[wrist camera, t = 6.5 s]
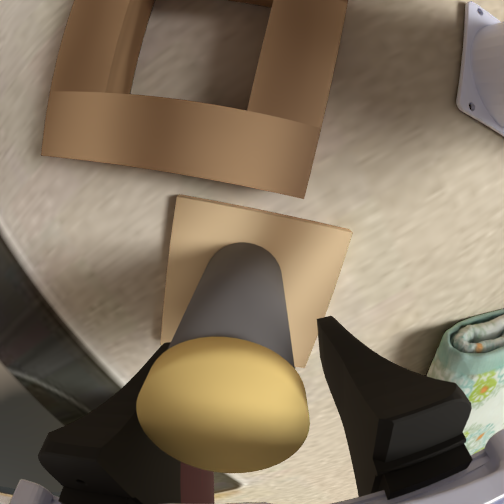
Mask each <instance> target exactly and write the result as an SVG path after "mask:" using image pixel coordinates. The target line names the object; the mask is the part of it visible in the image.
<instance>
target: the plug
mask: <svg viewBox="0 0 504 504" xmlns="http://www.w3.org/2000/svg"><path fill="white" fill-rule="evenodd" d="M136 411H137V416H138V420H139V422H140V425H141V427H142V429H143V430H144V432H145V433H146V435H147V436H148V437H149V439H150V440H151V441H152V442H153V443H154V444H155V445H156V446H157V447H159V448H160V449H161V450H162V451H164V452H165V453H167V454H168V455H170V456H171V457H173V458H175V459H177V460H179V461H181V462H183V463H185V464H188V465H190V466H193V467H196V468H200V469H203V470H208V471H213V472H221V473H246V472H253V471H258V470H262V469H266V468H269V467H272V466H274V465H277V464H279V463H281V462H283V461H285V460H286V459H288V458H289V457H290V456H292V455H293V454H294V453H295V452H296V451H297V450H298V449H299V448H300V447H301V446H302V445H303V443H304V441H305V439H306V438H307V435H308V432H309V426H310V421H309V412H308V406H307V399H306V392H305V388H304V385H303V382H302V380H301V378H300V376H299V374H298V373H297V371H296V370H295V366H294V358H293V351H292V343H291V336H290V329H289V321H288V314H287V307H286V300H285V293H284V286H283V279H282V272H281V269H280V266H279V264H278V262H277V260H276V259H275V257H274V256H273V255H272V254H271V253H270V252H269V251H267V250H266V249H264V248H263V247H261V246H258V245H256V244H252V243H246V242H239V243H233V244H230V245H227V246H225V247H223V248H221V249H220V250H218V251H217V252H216V253H215V254H214V255H213V256H212V258H211V259H210V261H209V262H208V264H207V267H206V269H205V271H204V273H203V275H202V277H201V279H200V281H199V283H198V285H197V287H196V290H195V292H194V294H193V296H192V298H191V300H190V302H189V304H188V306H187V309H186V311H185V313H184V315H183V317H182V319H181V321H180V324H179V326H178V328H177V330H176V332H175V334H174V337H173V339H172V341H171V343H170V345H169V348H168V350H167V351H165V352H164V353H163V354H162V355H161V356H160V357H159V358H157V360H156V361H155V362H154V364H153V365H152V367H151V369H150V371H149V373H148V376H147V378H146V380H145V382H144V384H143V386H142V388H141V390H140V393H139V395H138V398H137V403H136Z"/></svg>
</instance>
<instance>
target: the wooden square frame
mask: <svg viewBox="0 0 504 504" xmlns="http://www.w3.org/2000/svg"><path fill="white" fill-rule="evenodd" d="M154 1H155V0H74V3H73V6H72V9H71V12H70V15H69V18H68V21H67V24H66V28H65V31H64V34H63V38H62V41H61V45H60V49H59V53H58V57H57V61H56V65H55V70H54V74H53V79H52V84H51V89H50V94H49V100H48V105H47V112H46V118H45V125H44V133H43V142H42V152H41V156H51V157H61V158H70V159H79V160H87V161H95V162H103V163H110V164H117V165H125V166H131V167H138V168H145V169H151V170H158V171H164V172H170V173H176V174H182V175H188V176H193V177H199V178H205V179H210V180H215V181H221V182H226V183H231V184H236V185H241V186H246V187H251V188H256V189H261V190H266V191H270V192H275V193H280V194H284V195H289V196H293V197H298V198H302V199H304V197H305V193H306V189H307V185H308V181H309V177H310V173H311V169H312V164H313V160H314V156H315V152H316V148H317V144H318V139H319V135H320V131H321V127H322V122H323V118H324V114H325V109H326V105H327V100H328V96H329V91H330V87H331V82H332V77H333V73H334V68H335V63H336V59H337V54H338V49H339V44H340V39H341V34H342V29H343V24H344V19H345V14H346V9H347V3H348V0H229V1H236V2H243V3H249V4H255V5H260V6H265V7H270V8H271V12H270V16H269V20H268V24H267V28H266V32H265V36H264V40H263V44H262V48H261V52H260V56H259V61H258V65H257V69H256V73H255V78H254V82H253V86H252V91H251V95H250V99H249V104H248V108H247V110H241V109H236V108H231V107H225V106H219V105H214V104H207V103H201V102H194V101H187V100H180V99H172V98H164V97H155V96H145V95H133V94H130V91H131V87H132V82H133V78H134V73H135V69H136V65H137V61H138V57H139V53H140V49H141V45H142V41H143V38H144V34H145V31H146V27H147V24H148V20H149V17H150V14H151V11H152V7H153V4H154Z"/></svg>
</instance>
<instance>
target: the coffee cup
mask: <svg viewBox="0 0 504 504" xmlns="http://www.w3.org/2000/svg"><path fill="white" fill-rule="evenodd" d="M180 487H181V504H214V474H213V471H208V470H203V469H200V468H196V467H193V466H190V465H188V464H185V463H183V462H181V476H180Z"/></svg>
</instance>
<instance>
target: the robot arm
mask: <svg viewBox="0 0 504 504" xmlns="http://www.w3.org/2000/svg"><path fill="white" fill-rule="evenodd" d="M477 11H478V12H479V13H478V12H477ZM469 103H470V105H471V110H470V108H469ZM456 104H457V107H458V108H459V110H461V111H462V112H464V113H466V114H467V115H469V116H471V117H473V118H474V119H476V120H478V121H480V122H481V123H483V124H485V125H486V126H488V127H490V128H491V129H493V130H494V131H496V132H498V133H499V134H501V135H502V136H504V22H501V21H499V20H498V19H497V18H495V17H494V16H493V15H491V14H490V13H488V12H487V11H486V10H484V9H483V8H481V7H480V6H479V5H477V4H476V3H474V2H472V1H469V2H467V3H466V5H465V26H464V41H463V53H462V62H461V71H460V79H459V86H458V93H457V99H456ZM317 328H318V338H319V349H320V358H321V362H322V367H323V371H324V374H325V378H326V381H327V383H328V386H329V388H330V391H331V394H332V396H333V399H334V401H335V404H336V407H337V409H338V412H339V414H340V417H341V420H342V423H343V426H344V430H345V434H346V438H347V442H348V446H349V451H350V455H351V460H352V464H353V469H354V474H355V479H356V484H357V489H358V495H359V497H357V498H353V499H349V500H345V501H341V502H336V503H332V504H504V429H502V430H500V431H498V432H497V433H495V434H494V435H493V436H492V437H491V438H490V439H489V440H488V442H487V443H486V446H485V448H484V449H482V450H481V451H479V452H477V453H475V454H473V455H470V453H469V452H468V450H467V448H466V446H465V444H464V443H466V437H465V436H464V434H463V430H464V428H465V425H466V423H467V421H468V419H469V416H470V413H471V409H472V406H471V402H470V401H469V399H468V398H467V396H466V395H465V393H464V392H463V391H462V390H461V388H460V387H459V386H458V385H457V384H456V383H453V382H448V381H444V380H439V379H434V378H431V377H427V376H424V375H421V374H418V373H415V372H413V371H410V370H408V369H405V368H403V367H401V366H398V365H396V364H394V363H392V362H390V361H389V360H387V359H385V358H383V357H382V356H380V355H378V354H377V353H375V352H374V351H372V350H371V349H370V348H368V347H367V346H365V345H364V344H363V343H362V342H360V341H359V340H358V339H357V338H355V337H354V336H353V335H352V334H351V333H350V332H348V331H347V330H346V329H345V328H344V327H343V326H342V325H341V324H340V323H339V322H338V321H337V320H336V319H335V318H334V317H332V316H328V317H324V318H319V319H317ZM170 343H171V342H167V343H164V344H163V345H162V346H161V347H160V348H159V349H158V350H157V351H156V352H155V354H154V355H153V356H152V357H151V358H150V359H149V360H148V362H147V363H146V364H145V365H144V366H143V367H142V368H141V369H140V371H139V372H138V373H137V374H136V375H135V376H134V377H133V378H132V379H131V380H130V381H129V382H128V383H127V384H126V385H125V386H124V387H123V388H122V389H121V390H120V391H118V392H117V393H116V394H115V395H114V396H112V397H111V398H110V399H109V400H108V401H106V402H105V403H103V404H102V405H101V406H99V407H98V408H96V409H95V410H93V411H92V412H90V413H89V414H87V415H85V416H84V417H82V418H80V419H78V420H76V421H74V422H73V423H70V424H68V425H66V426H64V427H61V428H59V429H57V430H54V431H52V432H49V433H48V435H47V438H46V440H45V442H44V444H43V446H42V448H41V450H40V452H39V454H38V459H39V461H40V463H41V464H42V466H43V467H44V468H45V469H46V470H47V471H48V472H49V473H50V474H51V475H52V476H53V477H54V478H55V479H56V480H57V481H58V482H59V483H60V484H61V485H63V486H64V487H63V489H62V492H61V495H60V497H57V496H53V495H52V494H51V493H50V492H49V491H48V490H47V489H46V488H44V487H43V486H41V485H39V484H37V483H33V482H30V481H27V480H24V479H20V481H19V483H18V485H17V487H16V490H15V492H14V494H13V497H12V499H11V501H10V504H181V487H180V476H181V461H179V460H177V459H175V458H173V457H171V456H170V455H168V454H167V453H165V452H164V451H162V450H161V449H160V448H159V447H157V446H156V445H155V444H154V443H153V442H152V441H151V440H150V439H149V437H148V436H147V435H146V433H145V432H144V430H143V429H142V427H141V425H140V422H139V420H138V416H137V411H136V403H137V398H138V395H139V393H140V390H141V388H142V386H143V384H144V382H145V380H146V378H147V376H148V373H149V371H150V369H151V367H152V365H153V364H154V362H155V361H156V360H157V358H159V357H160V356H161V355H162V354H163V353H164V352H165V351H167V350H168V348H169V345H170ZM227 504H271V503H266V502H245V503H227Z"/></svg>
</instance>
